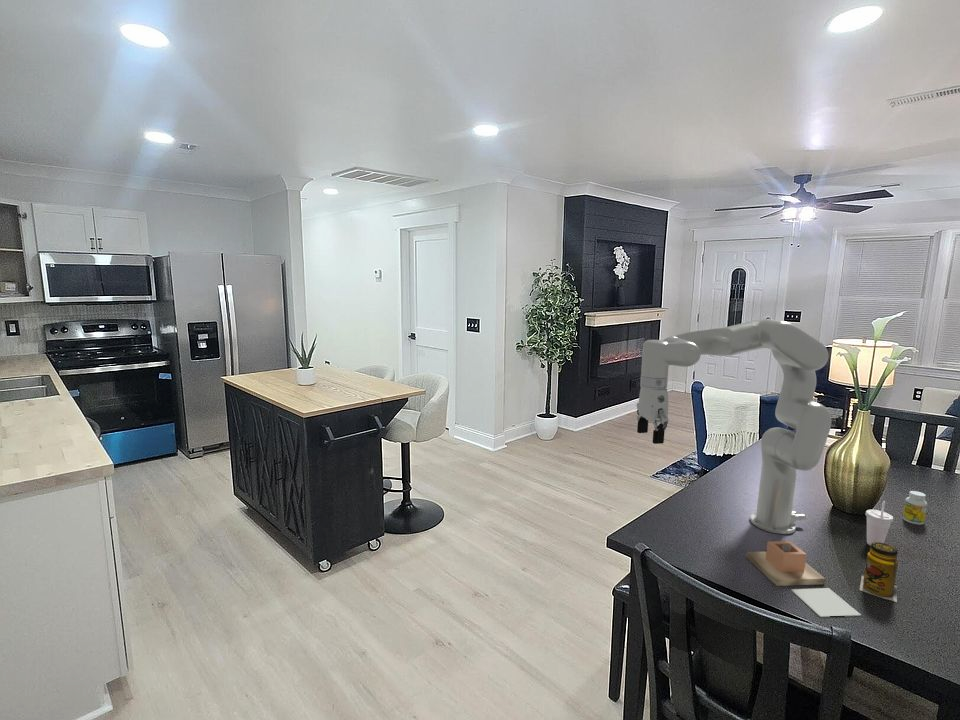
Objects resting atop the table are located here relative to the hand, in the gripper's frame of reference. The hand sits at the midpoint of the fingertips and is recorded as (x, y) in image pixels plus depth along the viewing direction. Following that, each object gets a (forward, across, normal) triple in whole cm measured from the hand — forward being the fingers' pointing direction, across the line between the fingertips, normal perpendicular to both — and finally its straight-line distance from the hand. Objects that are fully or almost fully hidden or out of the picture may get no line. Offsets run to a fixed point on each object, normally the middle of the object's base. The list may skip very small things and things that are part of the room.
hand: (649, 437), depth 149 cm
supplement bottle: (+31, -6, -91) cm, 96 cm away
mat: (+30, -38, -28) cm, 56 cm away
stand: (+30, -25, -28) cm, 48 cm away
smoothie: (+30, -17, -65) cm, 73 cm away
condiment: (+31, -35, -46) cm, 66 cm away
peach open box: (+28, -25, -28) cm, 47 cm away
